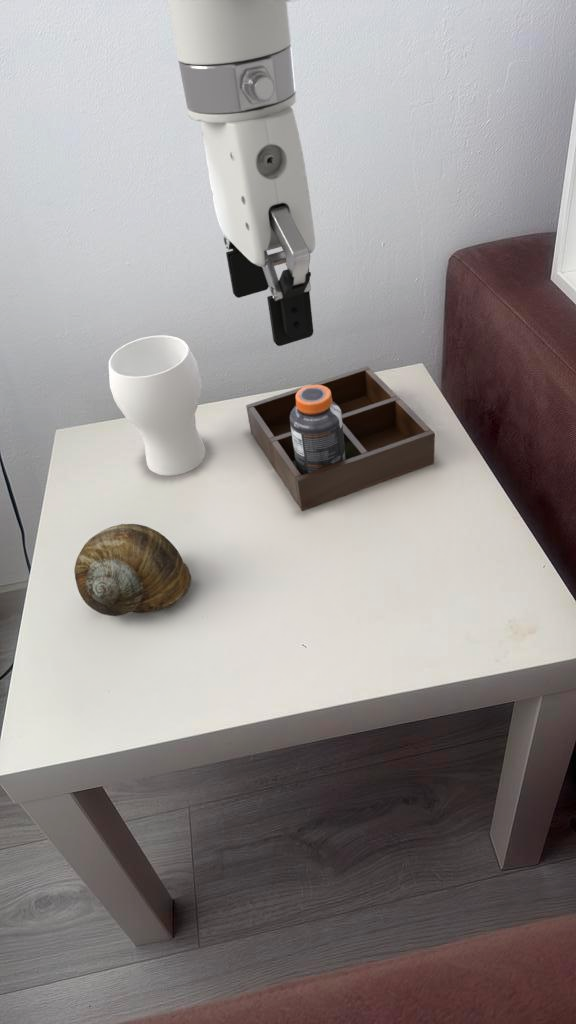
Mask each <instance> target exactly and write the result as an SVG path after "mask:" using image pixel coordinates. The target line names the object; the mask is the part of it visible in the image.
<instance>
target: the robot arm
mask: <svg viewBox="0 0 576 1024" xmlns="http://www.w3.org/2000/svg"><path fill="white" fill-rule="evenodd" d="M297 1H299V0H166V2H167V8H168V11H169V12H168V13H169V18H170V24H171V29H172V34H173V39H174V45H175V51H176V56H177V60H178V66H179V71H180V77H181V83H182V88H183V93H184V98H185V104H186V109H187V114H188V118H190V119H191V120H193V121H195V122H201V129H202V131H201V134H202V137H203V144H204V145H203V146H204V152H205V153H204V154H205V159H206V167H207V172H208V173H207V174H208V179H209V185H210V190H211V197H212V201H213V206H214V211H215V216H216V219H217V223H218V225H219V228H220V231H221V232H222V233H223V242H224V243H223V244H224V247H225V249H226V252H225V256H226V259H227V266H228V272H229V278H230V284H231V290H232V294H233V295H234V296H235V298H237V299H240V298H243V297H247V296H250V295H253V294H257V293H261V292H263V291H267V290H268V289H269V291H270V294H271V295H268V296H267V297H266V298H267V307H268V313H269V320H270V327H271V333H272V340H273V343H274V344H275V345H276V346H278V347H282V346H285V345H289V344H291V343H295V342H298V341H301V340H304V339H309V338H311V337H312V336H313V335H314V324H313V323H314V322H313V314H312V304H311V293H310V292H311V290H312V289H311V288H312V287H311V276H312V274H311V271H310V263H311V254H312V253H313V252H314V251H315V248H316V235H315V227H314V220H313V212H312V204H311V197H310V191H309V184H308V177H307V170H306V164H305V159H304V154H303V147H302V142H301V138H300V137H301V136H300V133H299V128H298V124H297V120H296V118H295V117H296V116H295V113H294V109H293V108H292V107H293V106H294V105H295V104H296V102H297V91H296V80H295V70H294V59H293V50H292V37H291V29H290V27H291V26H290V17H289V7H288V3H292V2H293V3H294V2H297ZM278 248H281V249H282V250H280V251H276V252H274V253H270V254H268V251H271V250H274V249H278ZM283 264H285V266H286V269H283V270H282V272H281V275H280V277H278V274H277V272H276V268H275V267H276V266H280V265H283Z"/></svg>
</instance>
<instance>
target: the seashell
mask: <svg viewBox="0 0 576 1024" xmlns="http://www.w3.org/2000/svg"><path fill="white" fill-rule="evenodd" d="M73 572H74V578H75V583H76V587H77V591H78V594H79V595H80V597H81V599H82V600H83V602H84V603H85V605H87V606H88V607H89V608H91V609H92V610H93V611H95V612H97V613H99V614H101V615H105V616H109V617H121V616H125V615H127V614H128V615H129V614H131V613H134V614H147V613H156V612H160V611H163V610H166V609H168V608H171V607H173V606H175V605H176V604H178V603H179V602H180V601H181V600H182V599H183V598H184V597H185V596H186V594H187V592H188V590H189V589H190V586H191V581H192V575H191V573H190V569H189V567H188V565H187V564H186V563H185V562H184V559H183V557H182V556H181V554H180V552H179V550H178V548H176V547H175V545H174V544H173V542H171V541H170V540H169V539H168V538H167V537H166V536H164V535H163V534H162V533H161V532H159V531H157V530H156V529H153V528H151V527H149V526H147V525H142V524H137V523H121V524H117V525H113V526H110V527H107V528H105V529H103V530H101V531H99V532H97V533H96V534H95V535H93V536H92V537H91V538H89V539H88V541H86V543H85V544H84V545H83V546H82V548H81V550H80V551H79V554H78V555H77V558H76V560H75V564H74V571H73Z"/></svg>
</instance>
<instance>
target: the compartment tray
mask: <svg viewBox="0 0 576 1024" xmlns="http://www.w3.org/2000/svg"><path fill="white" fill-rule="evenodd" d="M309 385H322V386H325V387H327V388H329V389H330V391H331V395H332V401H333V402H334V403H336V404H337V405H338V406H339V408H340V410H341V413H342V423H343V434H344V447H345V458H346V460H344V461H341V462H338V463H336V464H333V465H330V466H327V467H324V468H321V469H318V470H316V471H313V472H310V473H307V474H304V475H301V474H300V472H299V471H298V470H297V467H296V460H295V453H294V446H293V439H292V433H291V424H290V414H291V411H292V410H293V408H294V407H295V406H296V393H297V392H298V391H299V390H300V389H301V388H303V387H306V386H309ZM245 408H246V414H247V418H248V424H249V429H250V430H249V431H250V434H251V436H252V438H253V439H254V440H255V442H256V444H257V445H258V447H259V448H260V450H261V451H262V453H263V454H264V456H265V457H266V459H267V460H268V462H269V464H270V465H271V467H272V468H273V469H274V471H275V472H276V474H277V476H278V477H279V479H280V480H281V482H282V483H283V485H284V486H285V488H286V489H287V491H288V492H289V494H290V495H291V497H292V498H293V500H294V502H295V503H296V505H297V506H298V508H299V509H300V511H301V512H305V511H307V510H311V509H313V508H316V507H318V506H321V505H324V504H326V503H330V502H332V501H335V500H337V499H340V498H343V497H346V496H349V495H351V494H354V493H357V492H360V491H362V490H365V489H368V488H371V487H374V486H376V485H379V484H382V483H385V482H388V481H390V480H393V479H396V478H398V477H401V476H404V475H407V474H409V473H412V472H416V471H418V470H420V469H421V470H422V469H424V468H427V467H429V466H432V465H435V444H436V443H435V441H436V433H435V431H433V430H432V428H431V427H429V425H428V424H426V423H425V422H424V420H423V419H421V418H420V416H418V414H416V413H415V411H413V410H412V408H411V407H409V406H408V405H407V404H406V402H404V400H402V399H401V398H400V396H399V395H397V393H395V392H394V391H393V390H392V389H391V388H390V387H389V386H388V384H386V383H385V382H384V381H383V380H382V378H380V377H379V376H378V375H377V374H376V373H375V371H373V370H372V368H371V367H369V365H366V366H364V367H360V368H357V369H354V370H351V371H348V372H345V373H341V374H339V375H335V376H333V377H329V378H326V379H323V380H320V381H316V382H314V383H311V384H308V385H305V386H301V387H298V388H295V389H292V390H289V391H285V392H282V393H280V394H276V395H274V396H273V395H272V396H270V397H267V398H265V399H264V398H263V399H261V400H258V401H254V402H251V403H248V404H246V405H245Z"/></svg>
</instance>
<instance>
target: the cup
mask: <svg viewBox="0 0 576 1024" xmlns="http://www.w3.org/2000/svg"><path fill="white" fill-rule="evenodd" d="M108 377H109V378H108V379H109V381H108V382H109V388H110V391H111V394H112V397H113V400H114V402H115V404H116V406H117V407H118V408H119V410H120V411H121V413H122V414H123V415H124V417H125V419H126V420H127V421H129V422H130V423H131V424H132V425H133V426H134V427H135V428H136V429H137V430H138V432H139V434H140V436H141V438H142V441H143V443H144V452H145V460H146V466H147V467H148V469H149V470H150V471H151V472H152V473H154V474H157V475H159V476H169V477H170V476H179V475H183V474H185V473H188V472H190V471H192V470H193V469H196V468H197V467H199V465H201V464H202V462H203V461H204V459H205V458H206V453H207V452H206V447H205V445H204V442H203V439H202V437H201V435H200V433H199V430H198V429H197V423H196V421H197V420H196V413H197V410H198V407H199V403H200V400H201V390H202V380H201V379H202V378H201V375H200V371H199V365H198V362H197V360H196V358H195V356H194V354H193V352H192V350H191V348H190V346H189V345H188V344H187V343H186V341H185V340H183V339H181V338H180V337H178V336H177V337H176V336H172V335H163V334H162V335H161V334H160V335H149V336H145V337H140V338H137V339H135V340H132V341H130V342H129V341H128V342H127V343H126V344H124V345H123V344H122V346H120V347H119V348H117V349H116V350H114V352H113V353H112V354H111V356H110V358H109V360H108Z"/></svg>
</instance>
